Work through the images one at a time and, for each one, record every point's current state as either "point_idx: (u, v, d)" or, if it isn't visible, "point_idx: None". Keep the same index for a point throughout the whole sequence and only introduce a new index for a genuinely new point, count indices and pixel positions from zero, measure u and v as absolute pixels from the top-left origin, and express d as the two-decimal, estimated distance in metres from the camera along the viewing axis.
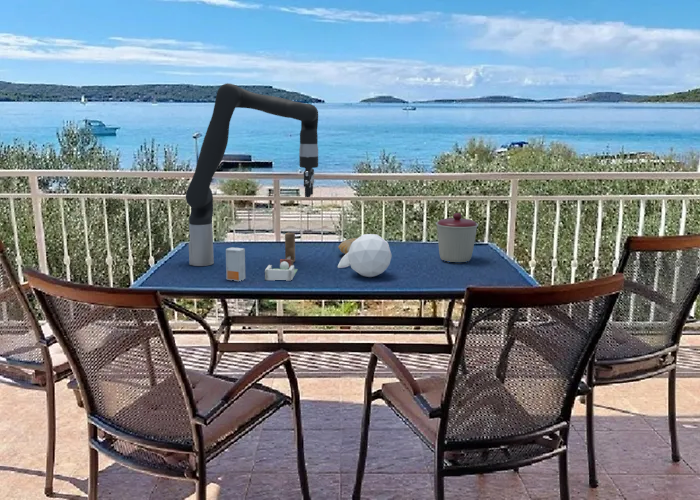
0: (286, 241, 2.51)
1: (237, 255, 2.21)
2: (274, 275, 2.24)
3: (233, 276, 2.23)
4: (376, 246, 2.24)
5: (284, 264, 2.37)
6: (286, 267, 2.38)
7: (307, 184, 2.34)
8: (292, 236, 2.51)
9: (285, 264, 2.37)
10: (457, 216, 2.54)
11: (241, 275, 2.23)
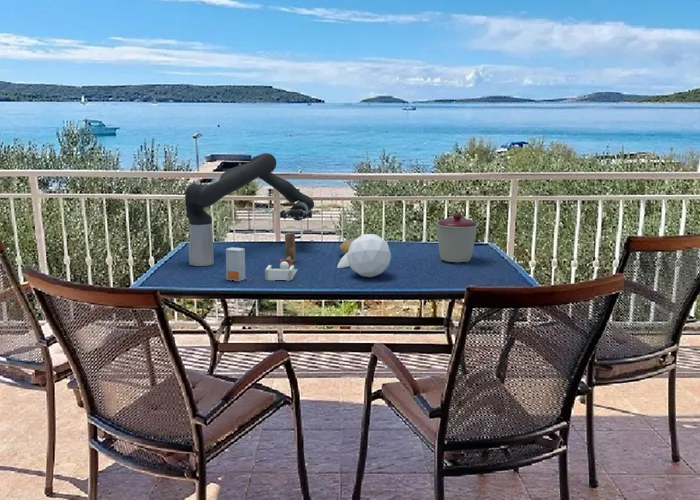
0: (286, 241, 2.51)
1: (237, 255, 2.21)
2: (274, 275, 2.24)
3: (233, 276, 2.23)
4: (375, 246, 2.24)
5: (284, 264, 2.37)
6: (286, 267, 2.38)
7: (311, 215, 2.68)
8: (292, 236, 2.51)
9: (285, 264, 2.37)
10: (457, 216, 2.54)
11: (241, 275, 2.23)
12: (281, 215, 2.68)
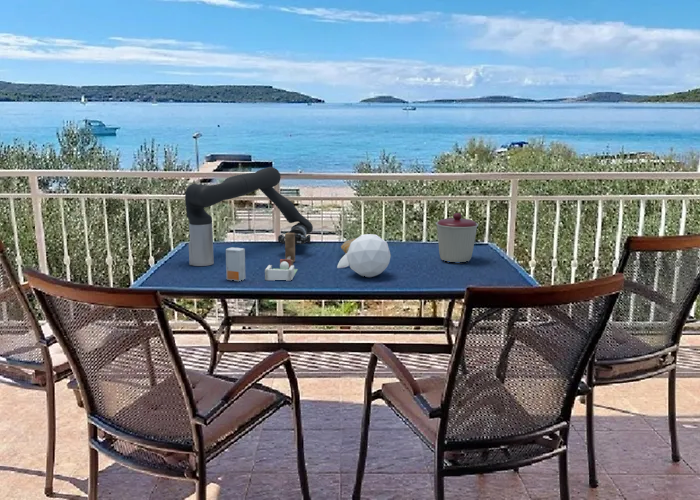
0: (286, 241, 2.51)
1: (237, 255, 2.21)
2: (274, 275, 2.24)
3: (233, 276, 2.23)
4: (375, 246, 2.24)
5: (284, 264, 2.37)
6: (286, 267, 2.38)
7: (309, 240, 2.65)
8: (292, 236, 2.51)
9: (285, 264, 2.37)
10: (457, 216, 2.54)
11: (241, 275, 2.23)
12: (279, 239, 2.65)
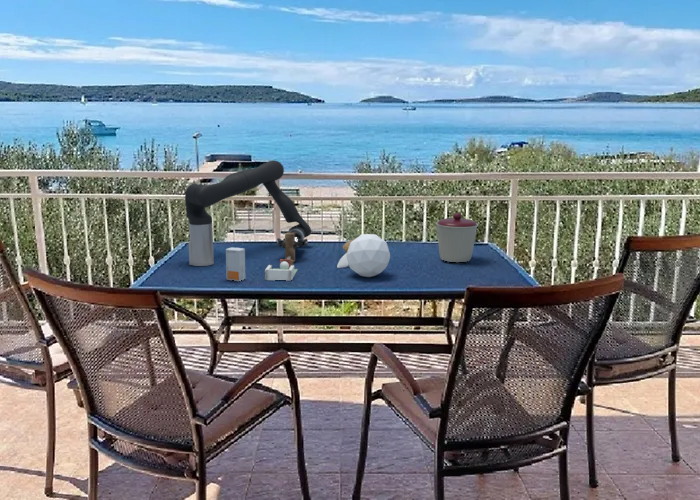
0: (286, 241, 2.51)
1: (237, 255, 2.21)
2: (274, 275, 2.24)
3: (233, 276, 2.23)
4: (374, 246, 2.24)
5: (284, 264, 2.37)
6: (286, 267, 2.38)
7: (302, 244, 2.56)
8: (292, 236, 2.51)
9: (285, 264, 2.37)
10: (457, 216, 2.54)
11: (241, 275, 2.23)
12: (281, 244, 2.55)
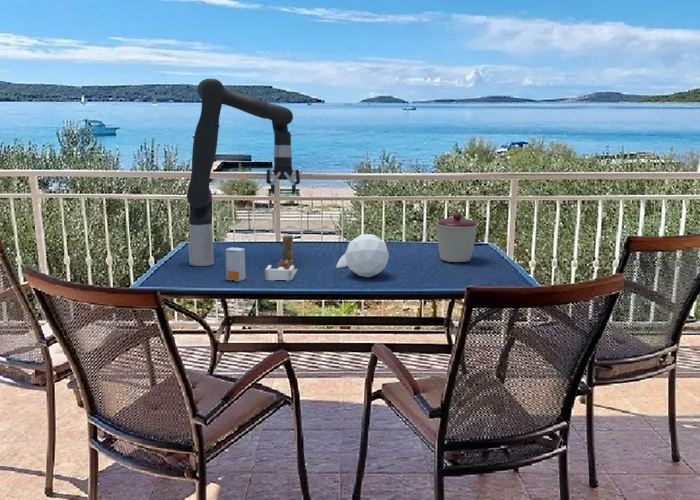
0: (284, 244, 2.45)
1: (237, 255, 2.21)
2: (274, 275, 2.24)
3: (233, 276, 2.23)
4: (373, 246, 2.24)
5: None
6: (283, 268, 2.31)
7: (299, 181, 2.57)
8: (290, 239, 2.45)
9: None
10: (457, 216, 2.54)
11: (241, 275, 2.23)
12: None
